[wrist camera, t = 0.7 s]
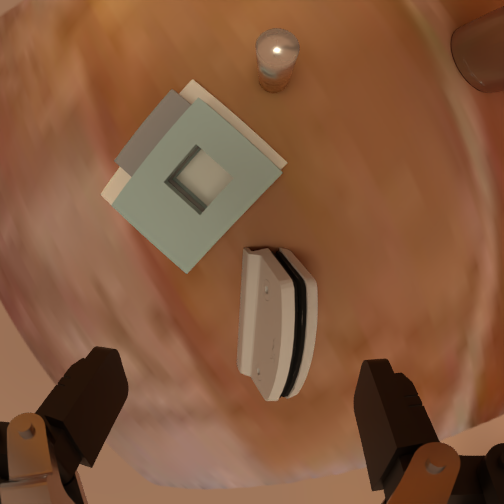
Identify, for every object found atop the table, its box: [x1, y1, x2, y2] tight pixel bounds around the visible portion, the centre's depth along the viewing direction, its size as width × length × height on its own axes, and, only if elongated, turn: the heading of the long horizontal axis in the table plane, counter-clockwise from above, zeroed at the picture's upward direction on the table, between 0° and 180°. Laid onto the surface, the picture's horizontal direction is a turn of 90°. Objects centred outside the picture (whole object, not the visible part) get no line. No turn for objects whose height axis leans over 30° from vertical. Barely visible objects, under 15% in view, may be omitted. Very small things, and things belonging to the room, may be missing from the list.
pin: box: [256, 28, 299, 93], centre depth 23 cm, size 3×3×11 cm
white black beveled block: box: [237, 247, 318, 401], centre depth 33 cm, size 17×5×10 cm, turn 176°
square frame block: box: [100, 79, 287, 274], centre depth 30 cm, size 16×13×5 cm
